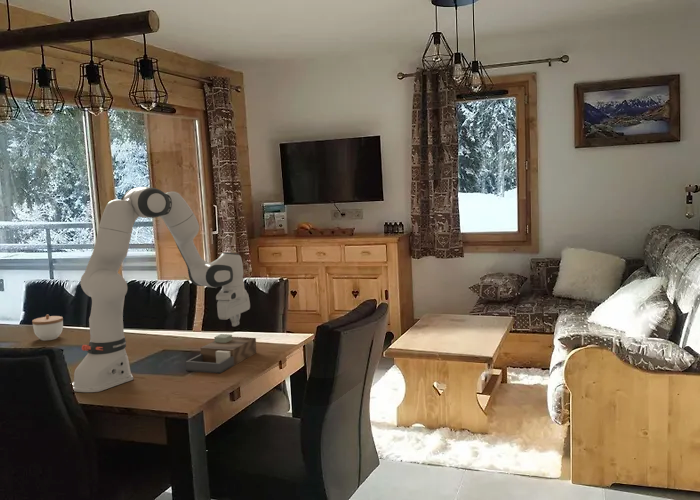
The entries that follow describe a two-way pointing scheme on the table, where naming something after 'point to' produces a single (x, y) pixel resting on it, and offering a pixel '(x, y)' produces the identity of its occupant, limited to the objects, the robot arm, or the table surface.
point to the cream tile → (222, 355)
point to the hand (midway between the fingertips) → (235, 325)
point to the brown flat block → (230, 349)
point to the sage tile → (223, 338)
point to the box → (208, 365)
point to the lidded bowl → (48, 327)
